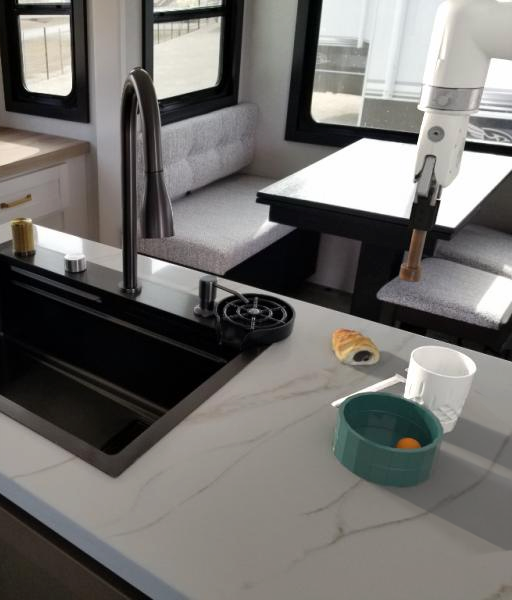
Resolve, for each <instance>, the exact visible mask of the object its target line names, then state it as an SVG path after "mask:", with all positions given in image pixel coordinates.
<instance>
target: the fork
mask: <svg viewBox="0 0 512 600" xmlns="http://www.w3.org/2000/svg"><path fill="white" fill-rule="evenodd" d="M408 369H409V367H407V368H405V369H404V371H405V372H407V373H408ZM406 380H407V378H405V377H404V376H402V375H400V374H399V373H395V374H394V375H393V376H392V377H389V378H387V379H385V380H382V381H379V382H377V383H375V384H372V385H370V386H368V387H365V388H363V389H361V390H358V391H357V392H354V393H352V394H350V395H347V396H345V397H342V398H339V399H337V400H335V401H333V402H332V403H331V406H333V408H337V407H340V404H341V403H342V402H343V401H344V400H345V399H346V398H347V397H349V396H352V395H354V394H357V393H362V392H379V391H381V390H383V389H385V388H388V387H391V386H393V385H395V384H398V383H403V384H404V383H405V384H406Z"/></svg>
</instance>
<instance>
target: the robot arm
mask: <svg viewBox="0 0 512 600" xmlns="http://www.w3.org/2000/svg"><path fill="white" fill-rule="evenodd" d="M492 59H497V60H506V61H512V0H505V1H498V0H445V1H443V2H442V3H441V4H440V5H439V7H438V8H437V11H436V15H435V18H434V23H433V29H432V33H431V39H430V44H429V48H428V53H427V59H426V64H425V69H424V73H423V79H422V83H421V89H420V92H419V93H420V94H419V98H418V103H417V110H419V111H422V112H424V115H423V118H422V123H421V126H420V130H419V135H418V140H417V145H416V149H415V154H414V158H413V163H412V168H411V174H410V180H411V182H412V183H413V184H415V185H416V188H415V193H414V198H413V201H412V203H411V208H410V213H409V218H408V222H407V227H408V229H410V230H411V229H412V230H414V229H416V230H422V231H427V232H429V233H430V232H431V231H432V229H433V227H434V226H436V223H437V219H438V214H439V210H440V206H441V200H442V199H441V198H442V195H443V190H444V189H446V188H448V187H449V186H450V185H451V184H453V182H454V180H455V179H456V178H457V177H458V176H459V174H460V173H459V172H460V169H461V164H462V159H463V154H464V150H465V145H466V139H467V135H468V130H469V123H470V118H471V115H474V114H477V113H479V111H480V106H481V101H482V97H483V94H484V89H485V85H486V82H487V81H486V80H487V77H488V73H489V69H490V68H489V67H490V65H491V61H492ZM430 189H433V192H432V190H430ZM427 232H426V233H427Z"/></svg>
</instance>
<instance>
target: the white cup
mask: <svg viewBox="0 0 512 600" xmlns="http://www.w3.org/2000/svg"><path fill="white" fill-rule="evenodd" d="M408 368H409V369H408V372H407V374H406V375H407V376H406V379H407V380H406V383H405V388H404V392H403V393H404V394H403V397H405V398H408V399H410V400H413V401H415V402H417V403H419V404H421V405H422V406H424V407H425V408H427V409H429V410H430V411H431V412H432V413H433V414H434V415H435V416H436V417H437V418H438V419H439V420H440V423H441V425H442V427H443V429H444V432H443V434H446V433H450V432H452V431H453V430H454V428H455V427H456V424H457V421H458V418H459V416H460V415H461V414H462V410H463V407H464V406H465V402H466V400H467V398H468V395H469V392H470V390H471V386H472V383H473V381H474V378H475V375H476V373H477V365H476V363H475V361H474V360H473V359H472V358H471V357H469V356H468V355H466V354H464V353H463V352H460V351H458V350H455V349H453V348H449V347H445V346H440V345H423V346H419V347H417V348H414V349H413V350H412V352H411V354H410V358H409V363H408Z"/></svg>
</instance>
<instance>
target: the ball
mask: <svg viewBox="0 0 512 600" xmlns="http://www.w3.org/2000/svg"><path fill="white" fill-rule="evenodd" d="M396 448H400V449H415V448H421V446H420V444H419V443H418V442H417V441H416V440H414V439H412V438H403V439H401V440H400V441H399V442H398V443H397V445H396Z"/></svg>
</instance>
